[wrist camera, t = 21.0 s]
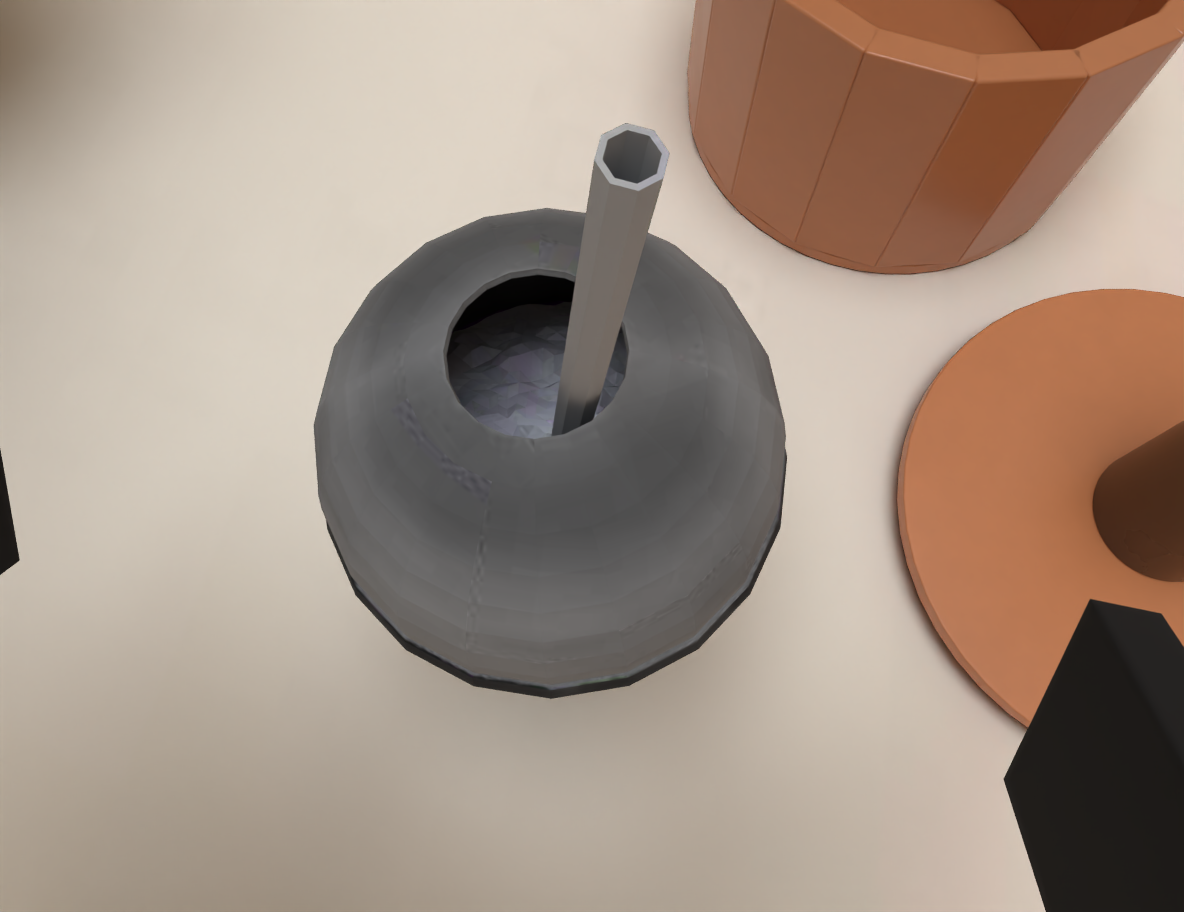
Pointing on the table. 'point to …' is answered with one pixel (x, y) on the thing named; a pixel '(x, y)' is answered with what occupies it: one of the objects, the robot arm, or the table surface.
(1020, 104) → the canister
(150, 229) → the table surface
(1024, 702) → the lid
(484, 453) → the beverage cup
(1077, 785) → the robot arm
